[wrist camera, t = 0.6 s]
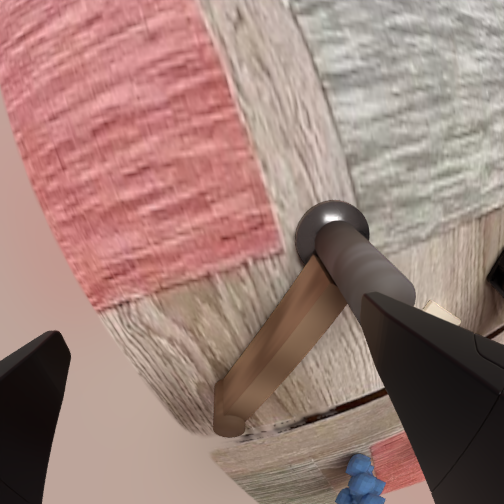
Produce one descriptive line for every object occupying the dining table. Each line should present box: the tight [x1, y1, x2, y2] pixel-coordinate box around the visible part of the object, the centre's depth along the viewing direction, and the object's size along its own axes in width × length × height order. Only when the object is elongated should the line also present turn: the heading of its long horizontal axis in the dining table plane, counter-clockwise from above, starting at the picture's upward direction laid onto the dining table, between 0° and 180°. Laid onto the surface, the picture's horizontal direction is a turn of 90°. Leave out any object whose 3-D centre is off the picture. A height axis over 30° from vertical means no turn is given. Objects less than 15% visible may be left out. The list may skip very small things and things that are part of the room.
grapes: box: [335, 454, 386, 504], centre depth 28 cm, size 12×7×12 cm, turn 25°
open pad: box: [422, 299, 461, 326], centre depth 25 cm, size 6×6×1 cm
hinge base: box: [295, 200, 369, 265], centre depth 21 cm, size 5×5×1 cm
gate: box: [213, 220, 416, 438], centre depth 19 cm, size 18×3×8 cm, turn 150°
